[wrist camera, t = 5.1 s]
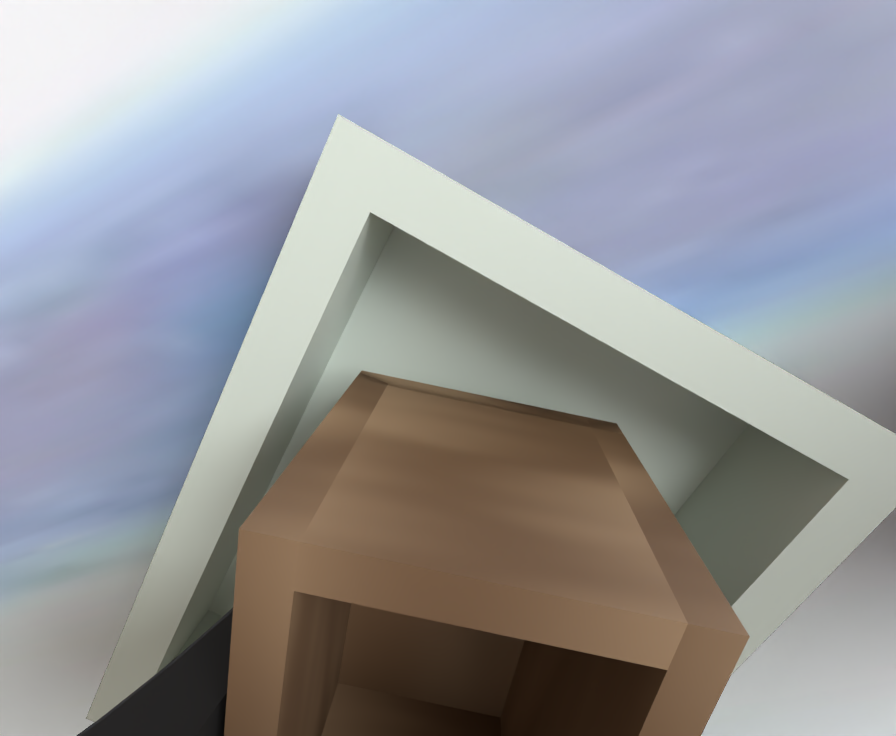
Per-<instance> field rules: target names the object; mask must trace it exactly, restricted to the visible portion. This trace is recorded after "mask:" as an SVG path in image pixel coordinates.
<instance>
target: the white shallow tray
mask: <svg viewBox="0 0 896 736" xmlns="http://www.w3.org/2000/svg"><path fill="white" fill-rule="evenodd" d="M361 371H367V372H372V373H377V374H382V375H386V376H391V377H396V378H401V379H406V380H411V381H415V382H420V383H425V384H430V385H435V386H439V387H444V388H449V389H454V390H459V391H464V392H468V393H473V394H478V395H483V396H488V397H492V398H497V399H502V400H507V401H512V402H516V403H521V404H526V405H531V406H536V407H541V408H545V409H550V410H555V411H560V412H565V413H569V414H574V415H579V416H584V417H589V418H594V419H598V420H603V421H608V422H613V423H617V425H618V426H619V428H620V429H621V431H622V433H623V434H624V436H625V437H626V439H627V441H628V442H629V444H630V445H631V447H632V449H633V450H634V452H635V453H636V455H637V457H638V458H639V460H640V461H641V463H642V465H643V466H644V468H645V469H646V471H647V473H648V474H649V476H650V477H651V479H652V481H653V482H654V484H655V485H656V487H657V489H658V490H659V492H660V493H661V495H662V497H663V498H664V500H665V501H666V503H667V505H668V506H669V508H670V509H671V511H672V513H673V514H674V516H675V517H676V519H677V521H678V522H679V524H680V525H681V527H682V529H683V530H684V532H685V533H686V535H687V537H688V538H689V540H690V541H691V543H692V545H693V546H694V548H695V549H696V551H697V553H698V554H699V556H700V557H701V559H702V561H703V562H704V564H705V565H706V567H707V569H708V570H709V572H710V573H711V575H712V577H713V578H714V580H715V582H716V583H717V585H718V586H719V588H720V590H721V591H722V593H723V594H724V596H725V598H726V599H727V601H728V602H729V604H730V606H731V607H732V609H733V610H734V612H735V614H736V615H737V617H738V618H739V620H740V622H741V623H742V625H743V626H744V628H745V630H746V631H747V633H748V634H749V636H750V637H749V639H748V641H747V643H746V645H745V647H744V649H743V651H742V653H741V655H740V657H739V660H738V662H737V664H736V666H735V668H734V670H733V672H732V674H733V673H734V672H735V671H736V670H737V669H738V668H739V667H740V666H741V665H742V664H743V663H744V662H745V661H746V660H747V658H748V657H749V656H750V655H751V654H752V653H753V652H754V651H755V650H756V649H757V648H758V647H759V646H760V645H761V644H762V643H763V642H764V641H765V640H766V639H767V638H768V637H769V636H770V635H771V634H772V633H773V632H774V631H775V630H776V629H777V628H778V627H779V626H780V625H781V624H782V623H783V622H784V621H785V620H786V619H787V618H788V617H789V616H790V615H791V614H792V613H793V612H794V611H795V610H796V609H797V608H798V607H799V606H800V605H801V604H802V603H803V602H804V601H805V600H806V598H807V597H808V596H809V595H810V594H811V593H812V592H813V591H814V590H815V589H816V588H817V587H818V586H819V585H820V584H821V583H822V582H823V581H824V580H825V579H826V578H827V577H828V576H829V575H830V574H831V573H832V572H833V571H834V570H835V569H836V568H837V567H838V566H839V565H840V564H841V563H842V562H843V561H844V560H845V559H846V558H847V557H848V556H849V555H850V554H851V553H852V552H853V551H854V550H855V549H856V548H857V547H858V546H859V545H860V544H861V543H862V542H863V541H864V540H865V538H866V537H867V536H868V535H869V534H870V533H871V532H872V531H873V530H874V529H875V528H876V527H877V526H878V525H879V524H880V523H881V522H882V521H883V520H884V519H885V518H886V517H887V516H888V515H889V514H890V513H891V512H892V511H893V510H894V509H895V508H896V434H895V433H893V432H892V431H890V430H888V429H886V428H885V427H883V426H881V425H879V424H878V423H876V422H874V421H873V420H871V419H869V418H867V417H866V416H864V415H862V414H860V413H859V412H857V411H855V410H853V409H852V408H850V407H848V406H846V405H845V404H843V403H841V402H839V401H838V400H836V399H834V398H832V397H831V396H829V395H827V394H825V393H824V392H822V391H820V390H818V389H817V388H815V387H813V386H811V385H810V384H808V383H806V382H805V381H803V380H801V379H799V378H798V377H796V376H794V375H792V374H791V373H789V372H787V371H785V370H784V369H782V368H780V367H778V366H777V365H775V364H773V363H771V362H770V361H768V360H766V359H764V358H763V357H761V356H759V355H757V354H756V353H754V352H752V351H750V350H749V349H747V348H745V347H743V346H742V345H740V344H738V343H737V342H735V341H733V340H731V339H730V338H728V337H726V336H724V335H723V334H721V333H719V332H717V331H716V330H714V329H712V328H710V327H709V326H707V325H705V324H703V323H702V322H700V321H698V320H696V319H695V318H693V317H691V316H689V315H688V314H686V313H684V312H682V311H681V310H679V309H677V308H675V307H674V306H672V305H670V304H668V303H667V302H665V301H663V300H662V299H660V298H658V297H656V296H655V295H653V294H651V293H649V292H648V291H646V290H644V289H642V288H641V287H639V286H637V285H635V284H634V283H632V282H630V281H628V280H627V279H625V278H623V277H621V276H620V275H618V274H616V273H614V272H613V271H611V270H609V269H607V268H606V267H604V266H602V265H600V264H599V263H597V262H595V261H594V260H592V259H590V258H588V257H587V256H585V255H583V254H581V253H580V252H578V251H576V250H574V249H573V248H571V247H569V246H567V245H566V244H564V243H562V242H560V241H559V240H557V239H555V238H553V237H552V236H550V235H548V234H546V233H545V232H543V231H541V230H539V229H538V228H536V227H534V226H532V225H531V224H529V223H527V222H526V221H524V220H522V219H520V218H519V217H517V216H515V215H513V214H512V213H510V212H508V211H506V210H505V209H503V208H501V207H499V206H498V205H496V204H494V203H492V202H491V201H489V200H487V199H485V198H484V197H482V196H480V195H478V194H477V193H475V192H473V191H471V190H470V189H468V188H466V187H464V186H463V185H461V184H459V183H457V182H456V181H454V180H452V179H451V178H449V177H447V176H445V175H444V174H442V173H440V172H438V171H437V170H435V169H433V168H431V167H430V166H428V165H426V164H424V163H423V162H421V161H419V160H417V159H416V158H414V157H412V156H410V155H409V154H407V153H405V152H403V151H402V150H400V149H398V148H396V147H395V146H393V145H391V144H389V143H388V142H386V141H384V140H383V139H381V138H379V137H377V136H376V135H374V134H372V133H370V132H369V131H367V130H365V129H363V128H362V127H360V126H358V125H356V124H355V123H353V122H351V121H349V120H348V119H346V118H344V117H342V116H341V115H339V114H338V116H337V118H336V121H335V123H334V125H333V128H332V130H331V133H330V135H329V137H328V140H327V142H326V145H325V147H324V149H323V152H322V154H321V157H320V159H319V161H318V164H317V166H316V169H315V171H314V173H313V176H312V178H311V181H310V183H309V185H308V188H307V190H306V192H305V195H304V197H303V200H302V202H301V204H300V207H299V209H298V212H297V214H296V216H295V219H294V221H293V224H292V226H291V228H290V231H289V233H288V236H287V238H286V240H285V243H284V245H283V248H282V250H281V252H280V255H279V257H278V260H277V262H276V264H275V267H274V269H273V272H272V274H271V276H270V279H269V281H268V283H267V286H266V288H265V291H264V293H263V295H262V298H261V300H260V303H259V305H258V307H257V310H256V312H255V315H254V317H253V319H252V322H251V324H250V327H249V329H248V331H247V334H246V336H245V339H244V341H243V343H242V346H241V348H240V351H239V353H238V355H237V358H236V360H235V363H234V365H233V367H232V370H231V372H230V374H229V377H228V379H227V382H226V384H225V386H224V389H223V391H222V394H221V396H220V398H219V401H218V403H217V406H216V408H215V410H214V413H213V415H212V418H211V420H210V422H209V425H208V427H207V430H206V432H205V434H204V437H203V439H202V442H201V444H200V446H199V449H198V451H197V454H196V456H195V458H194V461H193V463H192V465H191V468H190V470H189V473H188V475H187V477H186V480H185V482H184V485H183V487H182V489H181V492H180V494H179V497H178V499H177V501H176V504H175V506H174V509H173V511H172V513H171V516H170V518H169V521H168V523H167V525H166V528H165V530H164V533H163V535H162V537H161V540H160V542H159V545H158V547H157V549H156V552H155V554H154V556H153V559H152V561H151V564H150V566H149V568H148V571H147V573H146V576H145V578H144V580H143V583H142V585H141V588H140V590H139V592H138V595H137V597H136V600H135V602H134V604H133V607H132V609H131V612H130V614H129V616H128V619H127V621H126V624H125V626H124V628H123V631H122V633H121V636H120V638H119V640H118V643H117V645H116V647H115V650H114V652H113V655H112V657H111V659H110V662H109V664H108V667H107V669H106V671H105V674H104V676H103V679H102V681H101V683H100V686H99V688H98V691H97V693H96V695H95V698H94V700H93V703H92V705H91V707H90V710H89V712H88V715H87V717H86V718H87V719H89V720H91V721H93V722H96V721H97V720H98V719H100V718H101V717H102V716H104V715H105V714H106V713H108V712H109V711H110V710H111V709H113V708H114V707H115V706H116V705H118V704H119V703H120V702H121V701H123V700H124V699H125V698H126V697H128V696H129V695H130V694H131V693H133V692H134V691H135V690H137V689H138V688H139V687H140V686H142V685H143V684H144V683H145V682H147V681H148V680H149V679H150V678H152V677H153V676H154V675H155V674H157V673H158V672H159V671H160V670H162V669H163V668H164V667H165V666H166V665H168V664H169V663H170V662H171V661H172V660H174V659H175V658H176V657H177V656H178V655H179V654H181V653H182V652H183V651H184V650H185V649H186V648H187V647H189V646H190V645H191V644H192V643H193V642H194V641H196V640H197V639H198V638H199V637H200V636H201V635H203V634H204V633H205V632H206V631H207V630H208V629H210V628H211V627H212V626H213V625H214V624H215V623H216V622H217V621H218V620H219V619H221V618H222V617H223V616H224V615H225V614H226V613H227V612H228V611H229V610H230V609H232V608H233V603H234V589H235V575H236V561H237V547H238V534H239V528H240V527H241V525H242V524H243V523H244V522H245V520H246V519H247V518H248V516H249V515H250V514H251V512H252V511H253V510H254V509H255V507H256V506H257V505H258V503H259V502H260V501H261V500H262V498H263V497H264V496H265V494H266V493H267V492H268V491H269V489H270V488H271V487H272V485H273V484H274V483H275V482H276V480H277V479H278V478H279V476H280V475H281V474H282V472H283V471H284V470H285V469H286V467H287V466H288V465H289V463H290V462H291V461H292V460H293V458H294V457H295V456H296V454H297V453H298V452H299V451H300V449H301V448H302V447H303V445H304V444H305V443H306V442H307V440H308V439H309V438H310V436H311V435H312V434H313V432H314V431H315V430H316V429H317V427H318V426H319V425H320V423H321V422H322V421H323V420H324V418H325V417H326V416H327V414H328V413H329V412H330V411H331V409H332V408H333V407H334V405H335V404H336V403H337V402H338V400H339V399H340V398H341V396H342V395H343V394H344V392H345V391H346V390H347V389H348V387H349V386H350V385H351V383H352V382H353V381H354V380H355V378H356V377H357V376H358V374H359V373H360V372H361ZM732 674H731V675H732Z"/></svg>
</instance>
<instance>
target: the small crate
mask: <svg viewBox="0 0 896 736" xmlns="http://www.w3.org/2000/svg"><path fill="white" fill-rule="evenodd" d="M749 637H750V636H749V634H748V633H747V631H746V630H745V628H744V626H743V625H742V623H741V622H740V620H739V618H738V617H737V615H736V614H735V612H734V610H733V609H732V607H731V606H730V604H729V602H728V601H727V599H726V598H725V596H724V594H723V593H722V591H721V590H720V588H719V586H718V585H717V583H716V582H715V580H714V578H713V577H712V575H711V573H710V572H709V570H708V569H707V567H706V565H705V564H704V562H703V561H702V559H701V557H700V556H699V554H698V553H697V551H696V549H695V548H694V546H693V545H692V543H691V541H690V540H689V538H688V537H687V535H686V533H685V532H684V530H683V529H682V527H681V525H680V524H679V522H678V521H677V519H676V517H675V516H674V514H673V513H672V511H671V509H670V508H669V506H668V505H667V503H666V501H665V500H664V498H663V497H662V495H661V493H660V492H659V490H658V489H657V487H656V485H655V484H654V482H653V481H652V479H651V477H650V476H649V474H648V473H647V471H646V469H645V468H644V466H643V465H642V463H641V461H640V460H639V458H638V457H637V455H636V453H635V452H634V450H633V449H632V447H631V445H630V444H629V442H628V441H627V439H626V437H625V436H624V434H623V433H622V431H621V429H620V428H619V426H618V425H617V423H613V422H608V421H603V420H598V419H594V418H589V417H584V416H579V415H574V414H569V413H565V412H560V411H555V410H550V409H545V408H541V407H536V406H531V405H526V404H521V403H516V402H512V401H507V400H502V399H497V398H492V397H488V396H483V395H478V394H473V393H468V392H464V391H459V390H454V389H449V388H444V387H439V386H435V385H430V384H425V383H420V382H415V381H411V380H406V379H401V378H396V377H391V376H386V375H382V374H377V373H372V372H367V371H361V372H360V373H359V374H358V376H357V377H356V378H355V380H354V381H353V382H352V383H351V385H350V386H349V387H348V389H347V390H346V391H345V392H344V394H343V395H342V396H341V398H340V399H339V400H338V402H337V403H336V404H335V405H334V407H333V408H332V409H331V411H330V412H329V413H328V414H327V416H326V417H325V418H324V420H323V421H322V422H321V423H320V425H319V426H318V427H317V429H316V430H315V431H314V432H313V434H312V435H311V436H310V438H309V439H308V440H307V442H306V443H305V444H304V445H303V447H302V448H301V449H300V451H299V452H298V453H297V454H296V456H295V457H294V458H293V460H292V461H291V462H290V463H289V465H288V466H287V467H286V469H285V470H284V471H283V472H282V474H281V475H280V476H279V478H278V479H277V480H276V482H275V483H274V484H273V485H272V487H271V488H270V489H269V491H268V492H267V493H266V494H265V496H264V497H263V498H262V500H261V501H260V502H259V503H258V505H257V506H256V507H255V509H254V510H253V511H252V512H251V514H250V515H249V516H248V518H247V519H246V520H245V522H244V523H243V524H242V525H241V527H240V528H239V534H238V547H237V561H236V575H235V589H234V603H233V617H232V631H231V644H230V658H229V672H228V686H227V700H226V714H225V728H224V736H701V734H702V732H703V730H704V728H705V726H706V724H707V722H708V720H709V718H710V716H711V714H712V712H713V710H714V708H715V706H716V704H717V702H718V700H719V698H720V696H721V694H722V692H723V690H724V688H725V686H726V684H727V682H728V680H729V678H730V676H731V674H732V672H733V670H734V668H735V666H736V664H737V662H738V660H739V657H740V655H741V653H742V651H743V649H744V647H745V645H746V643H747V641H748V639H749Z"/></svg>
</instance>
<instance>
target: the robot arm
mask: <svg viewBox="0 0 896 736" xmlns="http://www.w3.org/2000/svg"><path fill="white" fill-rule="evenodd" d="M232 617H233V608H232V609H230V610H229V611H228V612H227V613H226V614H225V615H224V616H223V617H222V618H221V619H219V620H218V621H217V622H216V623H215V624H214V625H213V626H212V627H211V628H210V629H208V630H207V631H206V632H205V633H204V634H203V635H201V636H200V637H199V638H198V639H197V640H196V641H194V642H193V643H192V644H191V645H190V646H189V647H187V648H186V649H185V650H184V651H183V652H182V653H181V654H179V655H178V656H177V657H176V658H175V659H174V660H172V661H171V662H170V663H169V664H168V665H166V666H165V667H164V668H163V669H162V670H160V671H159V672H158V673H157V674H155V675H154V676H153V677H152V678H150V679H149V680H148V681H147V682H145V683H144V684H143V685H142V686H140V687H139V688H138V689H137V690H135V691H134V692H133V693H131V694H130V695H129V696H128V697H126V698H125V699H124V700H123V701H121V702H120V703H119V704H118V705H116V706H115V707H114V708H113V709H111V710H110V711H109V712H108V713H106V714H105V715H104V716H102V717H101V718H100V719H98V720H97V721H96V722H94V723H93V724H92V725H90V726H89V727H88V728H86V729H85V730H84V731H82V732H81V733H80V734H78V735H77V736H224V728H225V714H226V700H227V686H228V672H229V658H230V644H231V631H232Z"/></svg>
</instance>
